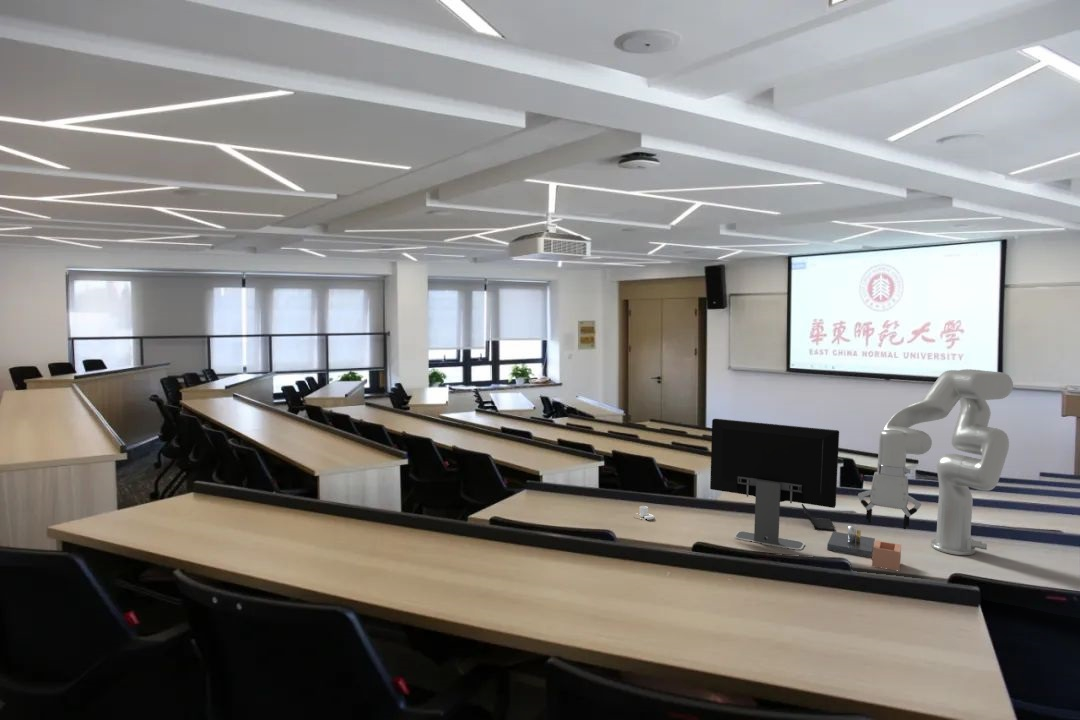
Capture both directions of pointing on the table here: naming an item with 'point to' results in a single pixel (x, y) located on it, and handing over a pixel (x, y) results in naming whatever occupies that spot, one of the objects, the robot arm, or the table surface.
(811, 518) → the handheld gaming console
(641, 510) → the teacup and saucer
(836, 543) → the base plate
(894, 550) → the pink storage bin
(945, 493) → the robot arm
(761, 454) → the computer monitor
